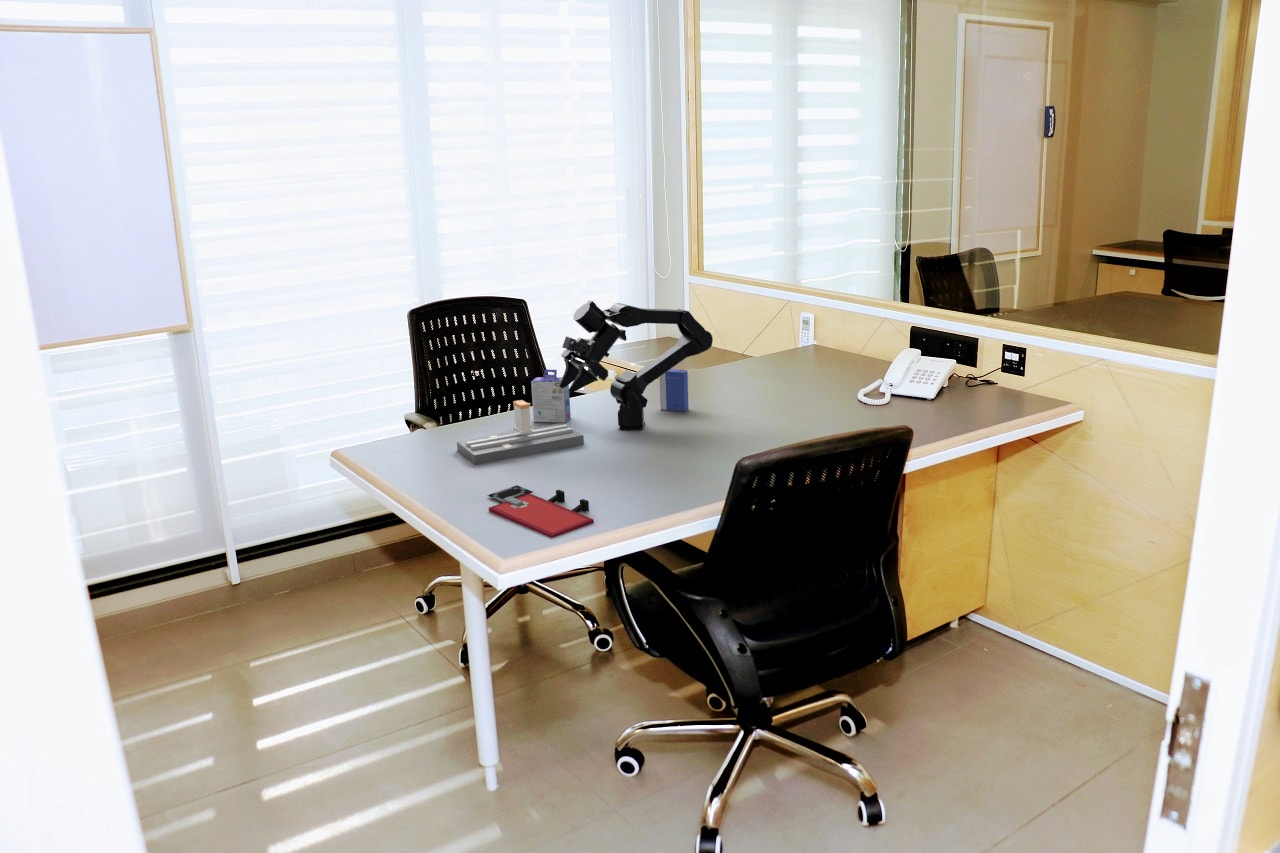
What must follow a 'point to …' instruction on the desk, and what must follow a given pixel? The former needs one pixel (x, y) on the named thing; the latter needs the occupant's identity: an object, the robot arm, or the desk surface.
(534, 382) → the ink cartridge box
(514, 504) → the red board with handle
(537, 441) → the fader console
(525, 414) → the fader lever
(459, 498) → the desk surface
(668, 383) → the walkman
